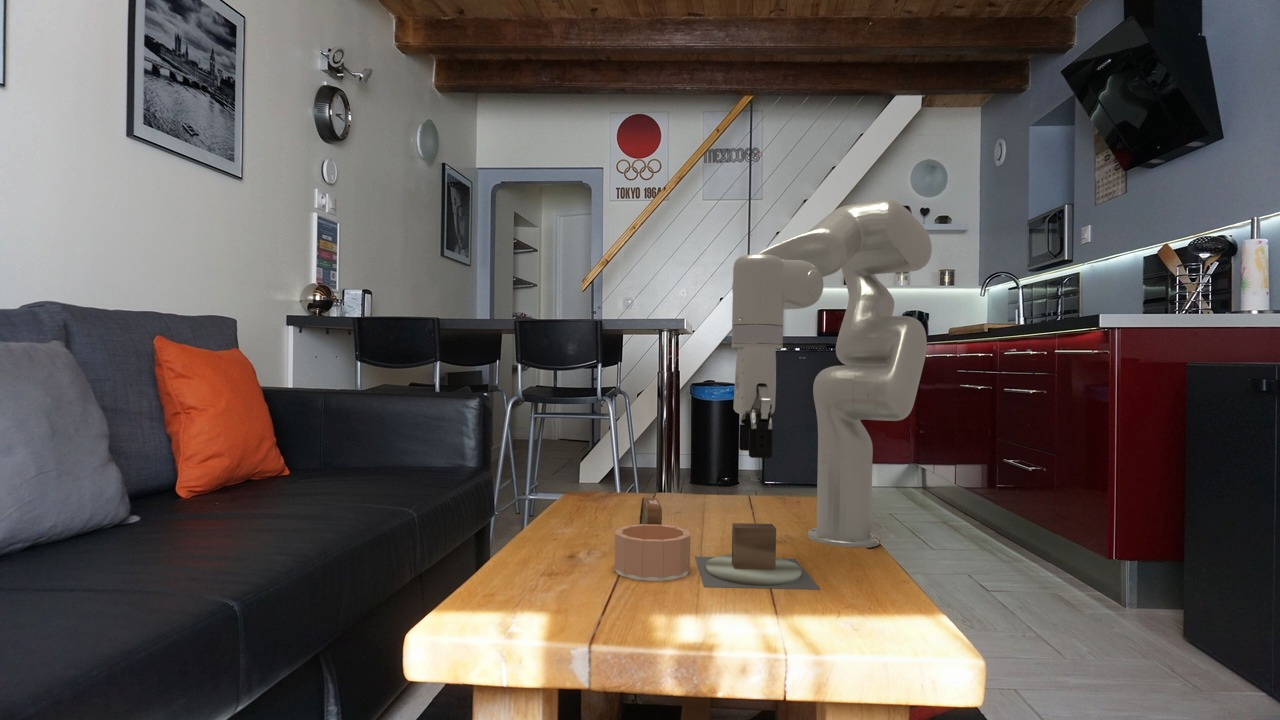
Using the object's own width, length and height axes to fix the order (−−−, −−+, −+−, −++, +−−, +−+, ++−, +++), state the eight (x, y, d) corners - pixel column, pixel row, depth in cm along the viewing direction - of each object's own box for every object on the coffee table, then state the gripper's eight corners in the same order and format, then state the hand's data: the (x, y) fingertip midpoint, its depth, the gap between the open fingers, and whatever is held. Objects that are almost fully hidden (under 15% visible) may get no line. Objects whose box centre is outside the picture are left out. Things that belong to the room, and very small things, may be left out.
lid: (701, 558, 112) (702, 515, 112) (790, 560, 112) (791, 517, 112) (710, 584, 98) (711, 535, 98) (811, 587, 98) (812, 537, 98)
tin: (637, 540, 126) (638, 492, 126) (655, 540, 126) (656, 492, 126) (642, 562, 111) (643, 508, 111) (662, 563, 111) (663, 509, 111)
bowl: (616, 562, 111) (616, 523, 111) (686, 563, 111) (687, 525, 111) (613, 583, 100) (614, 540, 100) (691, 584, 100) (692, 541, 100)
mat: (694, 559, 113) (695, 556, 113) (795, 561, 113) (795, 558, 113) (703, 590, 97) (704, 586, 97) (820, 592, 97) (820, 589, 97)
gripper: (724, 341, 114) (722, 447, 114) (740, 334, 97) (737, 460, 97) (771, 342, 114) (769, 448, 114) (794, 336, 97) (792, 461, 97)
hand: (754, 453), depth 105 cm, fingers open, 9 cm apart
